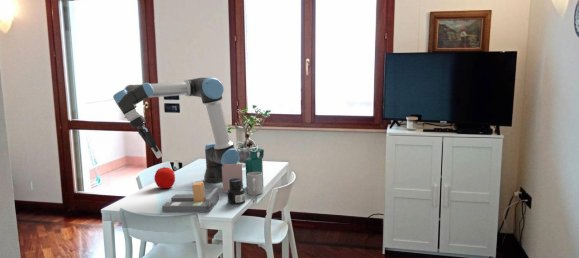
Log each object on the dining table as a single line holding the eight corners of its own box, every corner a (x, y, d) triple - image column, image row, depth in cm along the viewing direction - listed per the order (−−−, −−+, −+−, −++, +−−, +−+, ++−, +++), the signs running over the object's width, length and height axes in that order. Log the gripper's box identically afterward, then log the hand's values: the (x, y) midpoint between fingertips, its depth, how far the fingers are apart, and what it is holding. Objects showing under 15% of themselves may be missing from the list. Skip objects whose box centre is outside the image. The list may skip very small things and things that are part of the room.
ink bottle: (239, 205, 233) (238, 182, 232) (224, 204, 237) (223, 181, 235) (248, 200, 242) (247, 178, 240) (233, 198, 246) (232, 177, 244)
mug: (248, 190, 260) (247, 171, 258) (263, 190, 260) (262, 171, 258) (246, 197, 248) (245, 177, 247) (261, 196, 248) (260, 176, 246)
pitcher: (251, 189, 262) (249, 151, 258) (245, 186, 269) (243, 149, 266) (266, 187, 266) (265, 149, 263) (260, 183, 274) (259, 147, 270)
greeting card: (243, 189, 263) (242, 163, 261) (238, 193, 256) (237, 166, 253) (225, 188, 266) (223, 163, 264) (219, 192, 259) (218, 166, 257)
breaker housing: (162, 212, 227) (161, 199, 226) (175, 199, 247) (174, 188, 246) (209, 212, 225) (209, 199, 224) (219, 199, 245) (218, 187, 244)
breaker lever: (193, 204, 233) (192, 184, 231) (197, 200, 239) (196, 181, 237) (201, 203, 232) (200, 184, 231) (204, 200, 238) (203, 181, 237)
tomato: (167, 184, 279) (165, 164, 277) (180, 186, 273) (178, 166, 271) (150, 189, 269) (148, 168, 267) (163, 192, 263) (161, 170, 261)
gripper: (126, 123, 239) (151, 161, 243) (131, 120, 228) (157, 160, 232) (138, 116, 243) (163, 154, 246) (144, 112, 231) (169, 152, 235)
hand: (160, 157), depth 239 cm, fingers closed
